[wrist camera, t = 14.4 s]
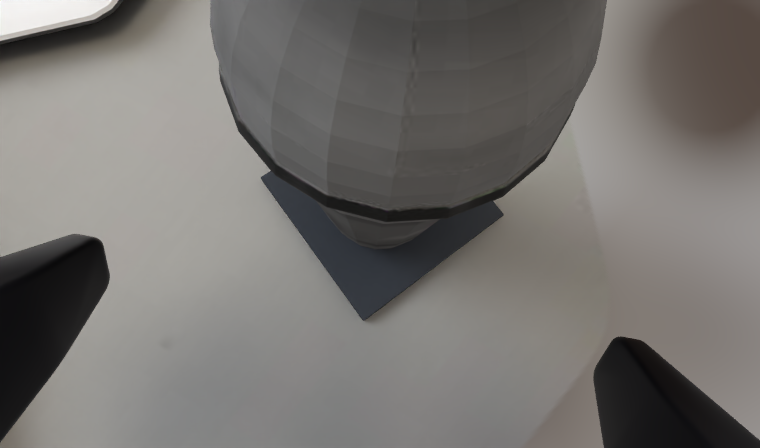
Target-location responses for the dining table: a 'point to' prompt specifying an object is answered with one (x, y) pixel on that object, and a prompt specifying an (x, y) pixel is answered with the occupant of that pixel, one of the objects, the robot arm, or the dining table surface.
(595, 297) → the dining table surface
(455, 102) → the beverage cup
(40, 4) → the plate
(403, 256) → the coaster
